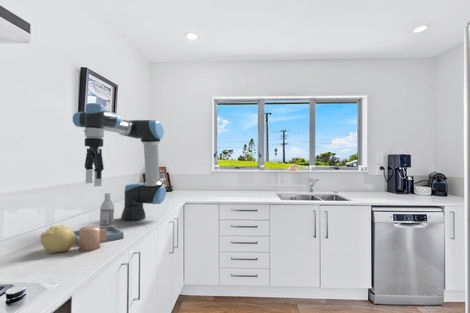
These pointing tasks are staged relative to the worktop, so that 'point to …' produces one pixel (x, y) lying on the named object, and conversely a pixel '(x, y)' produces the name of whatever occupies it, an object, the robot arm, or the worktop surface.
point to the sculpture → (57, 239)
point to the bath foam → (107, 212)
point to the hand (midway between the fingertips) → (93, 184)
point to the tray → (111, 234)
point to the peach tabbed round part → (91, 238)
